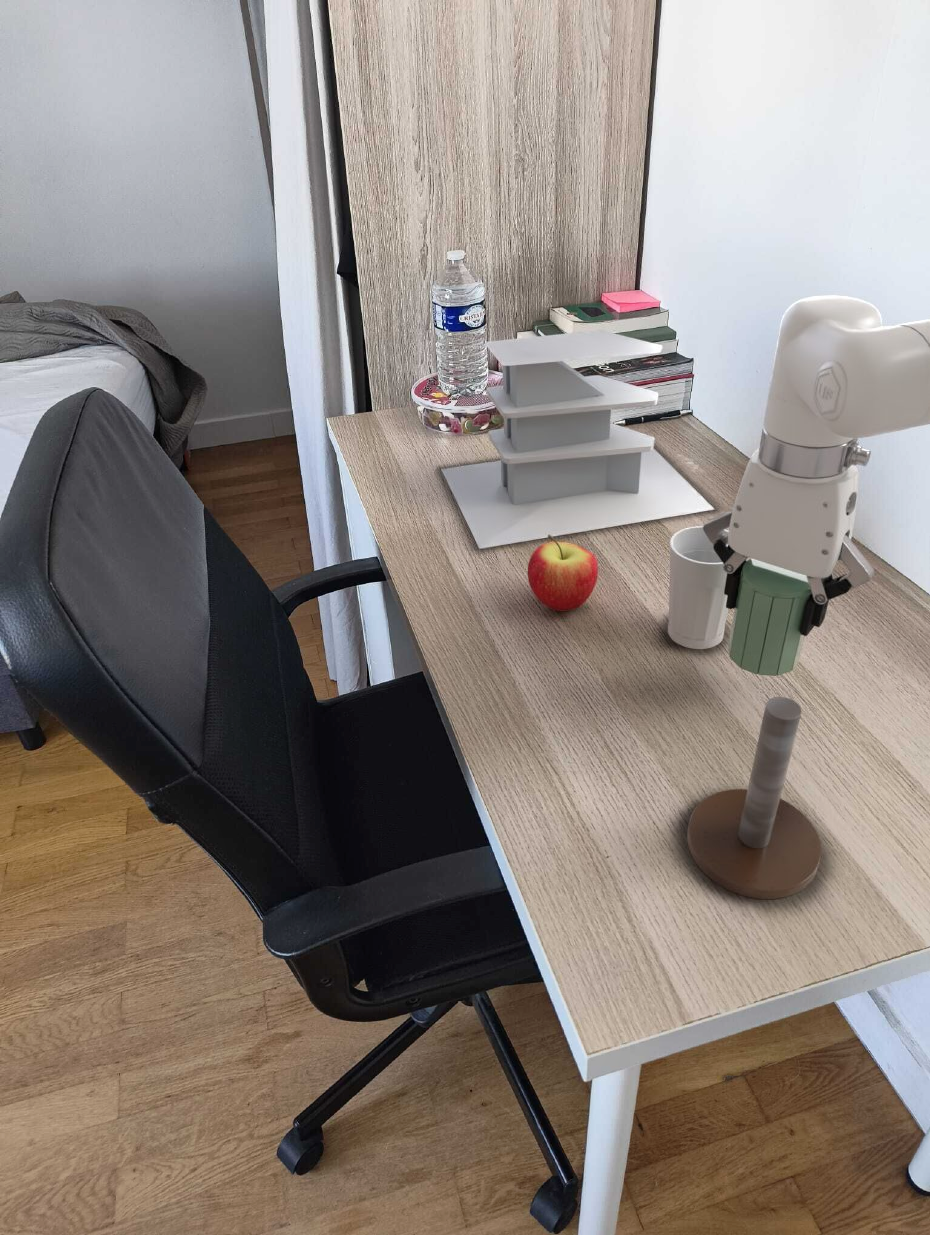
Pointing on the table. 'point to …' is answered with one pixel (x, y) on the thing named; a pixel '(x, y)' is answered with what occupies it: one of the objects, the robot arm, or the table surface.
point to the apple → (562, 575)
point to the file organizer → (566, 448)
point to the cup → (696, 590)
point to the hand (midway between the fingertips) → (771, 613)
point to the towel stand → (758, 821)
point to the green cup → (768, 619)
